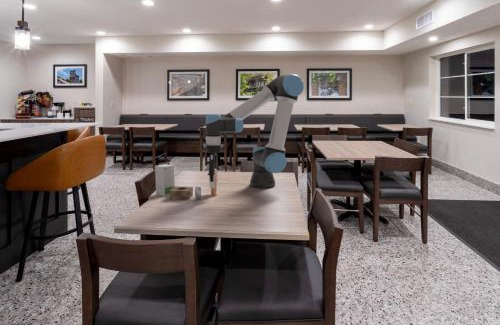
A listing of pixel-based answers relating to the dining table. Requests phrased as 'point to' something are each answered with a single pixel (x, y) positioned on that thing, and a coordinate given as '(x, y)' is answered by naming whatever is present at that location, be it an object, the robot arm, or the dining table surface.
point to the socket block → (181, 193)
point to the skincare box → (164, 179)
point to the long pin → (214, 190)
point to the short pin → (197, 193)
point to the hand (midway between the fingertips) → (213, 184)
